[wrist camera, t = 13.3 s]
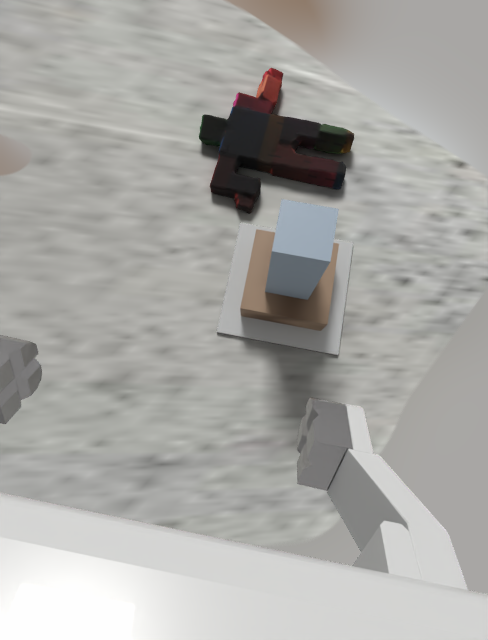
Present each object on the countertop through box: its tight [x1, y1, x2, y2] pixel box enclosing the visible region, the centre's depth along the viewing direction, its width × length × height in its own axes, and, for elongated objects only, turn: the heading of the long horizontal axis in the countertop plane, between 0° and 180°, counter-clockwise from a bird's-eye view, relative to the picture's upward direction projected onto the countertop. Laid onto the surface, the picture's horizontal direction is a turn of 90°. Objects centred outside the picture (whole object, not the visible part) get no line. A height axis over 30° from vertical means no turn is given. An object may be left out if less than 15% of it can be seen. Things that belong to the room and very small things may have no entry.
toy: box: [199, 68, 354, 213], centre depth 39 cm, size 15×16×3 cm
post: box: [265, 199, 338, 300], centre depth 29 cm, size 4×4×9 cm
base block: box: [240, 229, 339, 331], centre depth 35 cm, size 8×8×3 cm
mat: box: [217, 222, 353, 355], centre depth 37 cm, size 12×12×1 cm
